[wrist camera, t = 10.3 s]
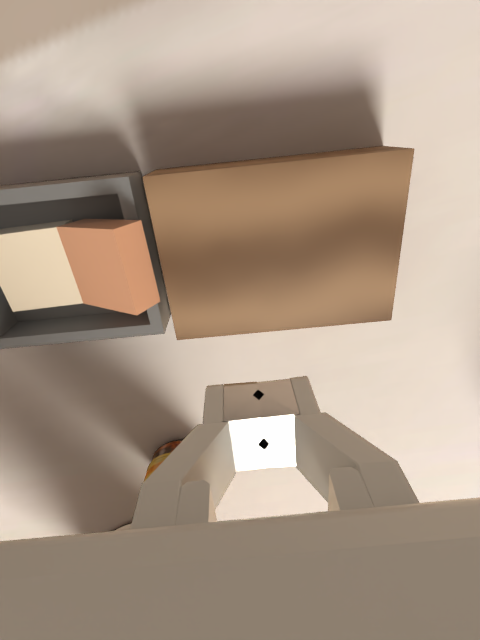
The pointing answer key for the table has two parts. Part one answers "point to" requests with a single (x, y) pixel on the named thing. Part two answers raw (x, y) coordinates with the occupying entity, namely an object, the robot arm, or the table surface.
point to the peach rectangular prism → (111, 263)
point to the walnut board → (281, 240)
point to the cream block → (36, 268)
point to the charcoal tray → (74, 204)
